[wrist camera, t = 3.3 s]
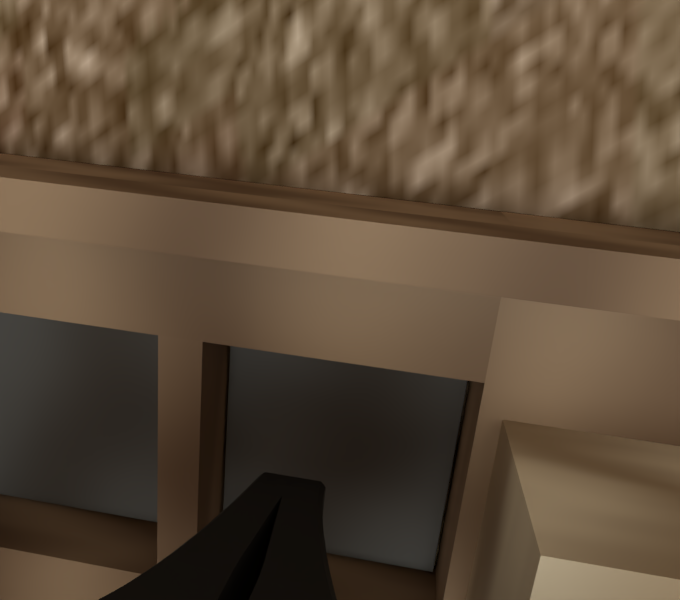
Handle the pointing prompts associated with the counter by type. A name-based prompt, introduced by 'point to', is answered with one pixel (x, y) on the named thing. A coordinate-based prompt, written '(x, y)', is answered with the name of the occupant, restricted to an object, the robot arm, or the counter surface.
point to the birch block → (578, 518)
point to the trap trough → (298, 365)
